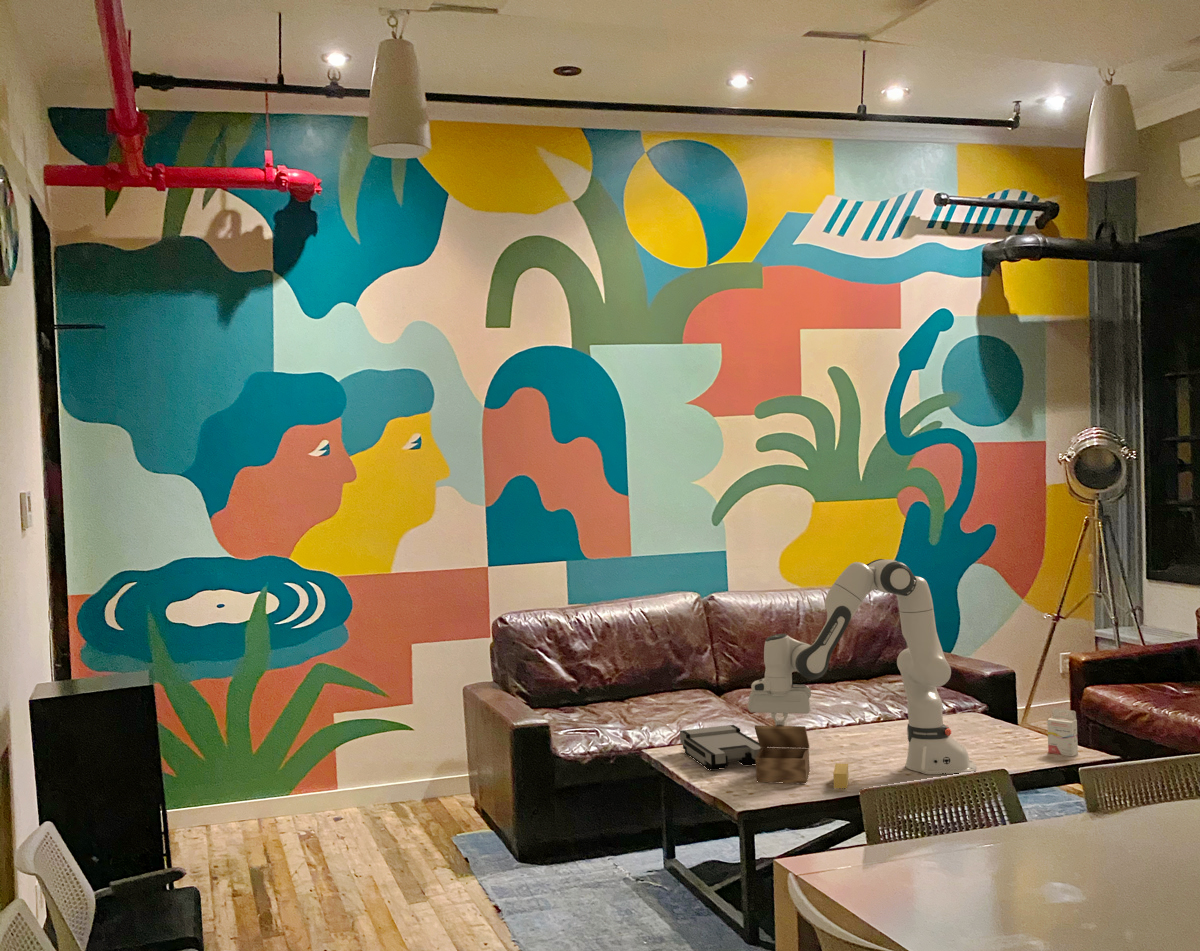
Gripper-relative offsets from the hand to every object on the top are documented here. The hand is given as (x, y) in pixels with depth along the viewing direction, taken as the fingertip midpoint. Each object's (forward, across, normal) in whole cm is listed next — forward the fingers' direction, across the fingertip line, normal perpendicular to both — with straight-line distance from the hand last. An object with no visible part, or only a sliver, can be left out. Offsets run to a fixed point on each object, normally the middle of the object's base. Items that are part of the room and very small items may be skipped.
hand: (780, 726), depth 364 cm
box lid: (+5, 0, -3) cm, 6 cm away
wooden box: (+17, 0, -2) cm, 17 cm away
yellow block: (+18, -19, +3) cm, 26 cm away
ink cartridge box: (+17, -91, -41) cm, 102 cm away
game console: (+18, +23, -22) cm, 36 cm away
